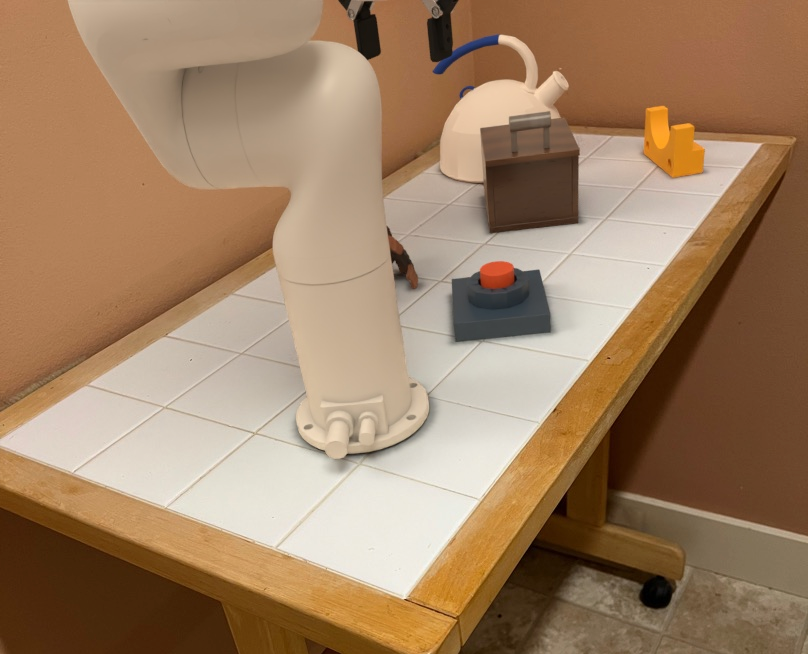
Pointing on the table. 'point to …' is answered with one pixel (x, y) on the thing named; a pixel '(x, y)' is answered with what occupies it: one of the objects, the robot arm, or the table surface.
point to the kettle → (491, 108)
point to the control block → (500, 307)
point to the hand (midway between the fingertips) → (405, 58)
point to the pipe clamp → (671, 144)
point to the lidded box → (531, 193)
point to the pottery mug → (402, 260)
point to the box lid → (528, 140)
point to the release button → (497, 275)
